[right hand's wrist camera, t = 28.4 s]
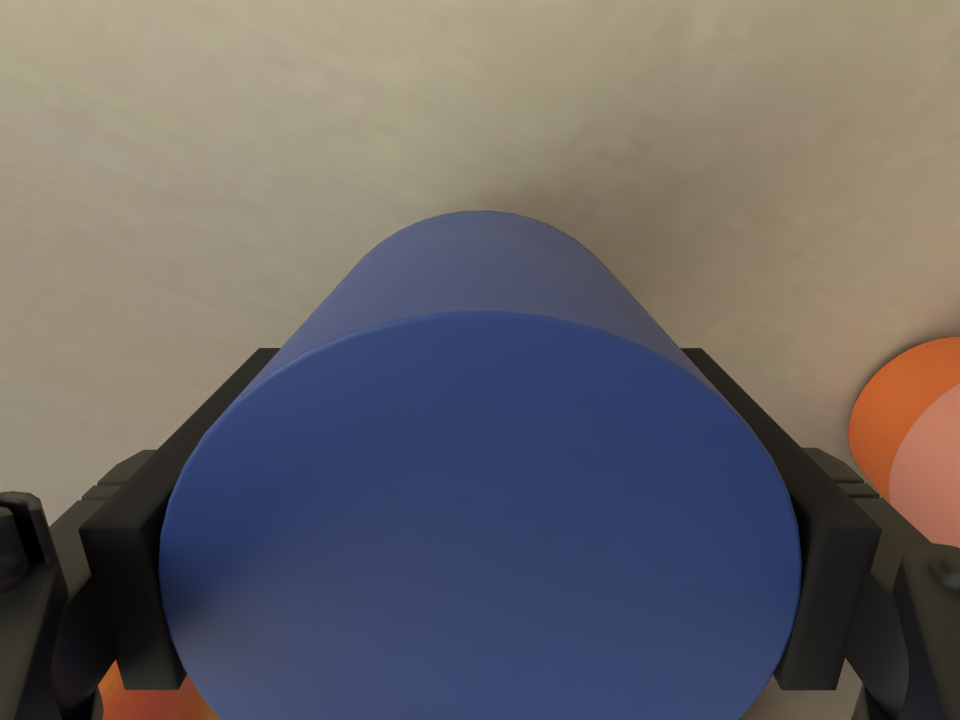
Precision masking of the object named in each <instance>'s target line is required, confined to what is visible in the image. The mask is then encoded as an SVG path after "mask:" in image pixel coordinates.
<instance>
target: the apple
mask: <svg viewBox="0 0 960 720" xmlns="http://www.w3.org/2000/svg"><path fill="white" fill-rule="evenodd" d="M98 687H99V690H100V693H101V696H102V701H103V707H104V713H103V720H221V719H220V718H219V717H218V715H217V714H216V713H215V712H214V711H213V709H212V708H211V707H210V706H209V705H208V703H207V702H206V701H205V700H204V698H203V697H202V696H201V695H200V693H199V692H198V690H197V688H196V687H195V685H194V684H193V682H192V680H191V679H190V677H189V676H188V674H187V675H186V677H185V679H184V681H183V683H182V685H181V687H180V688H179V690H125V689H124V685H123V682H122V679H121V675H120V672H119V668H118V665H117V661H116V660H115V661H114V663H113V664H112V666H111V667H110V669H109V670H108V671H107V673H106V674H105V676H104V677H103V679H102V680H101V682H100V683H99V685H98Z"/></svg>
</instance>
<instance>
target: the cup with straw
mask: <svg viewBox="0 0 960 720" xmlns="http://www.w3.org/2000/svg"><path fill="white" fill-rule="evenodd" d="M848 440H849V446H850V450H851V453H852V456H853V458H854V460H855V462H856V464H857V465H858V467H859V468H860V470H861V471H862V472H863V473H864V475H865V476H866V477H867V478H868V480H869V481H870V482H871V483H872V484H873V486H874V487H875V488H876V489H877V490H878V492H879V493H880V494H881V495H882V496H883V497H884V499H885V500H886V501H887V502H888V503H889V504H890V505H891V506H892V507H893V508H894V509H895V510H896V511H898V512H899V513H900V514H901V515H902V516H903V517H904V518H905V519H906V520H907V521H908V522H910V523H911V524H912V525H913V526H914V527H915V528H916V529H917V530H918V531H919V532H920V533H921V534H923V535H924V536H925V537H926V538H927V539H928V540H929V541H930V542H931V543H936V544H943V545H950V546H955V547H958V548H960V336H959V337H947V338H941V339H937V340H932V341H929V342H926V343H923V344H921V345H918V346H916V347H913V348H911V349H909V350H907V351H905V352H904V353H902V354H900V355H899V356H897V357H896V358H894V359H893V360H891V361H890V362H889V363H887V364H886V365H885V366H884V367H882V368H881V369H880V370H879V371H878V372H877V373H876V374H875V375H874V376H873V377H872V379H871V380H870V381H869V382H868V383H867V385H866V386H865V387H864V389H863V390H862V392H861V393H860V395H859V397H858V399H857V401H856V403H855V405H854V407H853V410H852V413H851V416H850V421H849V428H848Z"/></svg>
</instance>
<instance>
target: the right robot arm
mask: <svg viewBox="0 0 960 720" xmlns="http://www.w3.org/2000/svg"><path fill="white" fill-rule="evenodd" d="M280 349H281V348H259V349H258V350H257V351H256V352H255V353H254V354H253V355H252V356H251V357H250V358H249V359H248V360H247V361H246V362H245V363H244V364H243V365H242V366H241V367H240V368H239V369H238V370H237V371H236V372H235V373H234V374H233V375H232V376H231V377H230V378H229V379H228V380H227V381H226V382H225V383H224V384H223V385H222V386H221V387H220V388H219V389H218V390H217V391H216V392H215V393H214V394H213V395H212V396H211V397H210V398H209V399H208V400H207V401H206V402H205V403H204V404H203V405H202V406H201V407H200V408H199V409H198V410H197V411H196V412H195V413H194V414H193V415H192V416H191V417H190V418H189V419H188V420H187V421H186V422H185V423H184V424H183V425H182V426H181V427H180V428H179V429H178V430H177V431H176V432H175V433H174V434H173V435H172V436H171V437H170V438H169V439H168V440H167V441H166V442H165V443H164V444H163V445H162V446H161V447H160V448H159V449H158V450H143V451H141V452H139V453H137V454H135V455H133V456H132V457H130V458H128V459H126V460H124V461H122V462H121V463H119V464H117V465H116V466H115V467H113V468H112V469H111V470H110V471H109V472H108V473H107V474H106V475H105V476H104V477H103V478H102V479H101V480H99V481H98V485H97V486H93V487H92V488H91V489H90V490H89V491H88V492H87V493H85V494H84V495H83V496H82V500H81V501H77V502H76V503H75V504H74V505H72V506H71V507H70V508H69V509H68V510H67V511H66V512H65V513H64V514H63V515H62V516H61V517H60V518H58V519H57V520H56V521H55V522H54V523H53V524H52V525H51V526H50V527H49V526H48V523H47V520H46V517H45V514H44V510H43V507H42V504H41V501H40V499H39V498H37V497H36V496H34V495H32V494H31V493H24V492H13V491H12V492H3V493H0V720H103V713H104V707H103V701H102V696H101V693H100V690H99V687H98V685H99V683H100V682H101V680H102V679H103V677H104V676H105V674H106V673H107V671H108V670H109V669H110V667H111V666H112V664H113V663H114V661H115V660H116V661H117V665H118V668H119V672H120V675H121V679H122V682H123V685H124V689H125V690H179V688H180V687H181V685H182V683H183V681H184V679H185V677H186V675H187V672H186V671H185V669H184V668H183V665H182V663H181V661H180V659H179V656H178V654H177V652H176V649H175V647H174V645H173V643H172V640H171V638H170V635H169V631H168V628H167V624H166V620H165V616H164V613H163V609H162V605H161V595H160V585H159V576H158V566H159V551H160V537H161V531H162V527H163V523H164V519H165V515H166V511H167V507H168V503H169V499H170V497H171V494H172V492H173V490H174V487H175V485H176V483H177V480H178V478H179V476H180V474H181V471H182V469H183V467H184V465H185V463H186V462H187V460H188V459H189V457H190V455H191V454H192V452H193V451H194V449H195V448H196V446H197V445H198V443H199V441H200V440H201V438H202V437H203V435H204V434H205V432H206V431H207V430H208V429H209V428H210V427H211V426H212V425H213V423H214V422H215V421H216V420H217V419H218V418H219V417H220V416H221V415H222V413H223V412H224V411H225V410H226V409H227V408H228V407H229V406H230V405H231V403H232V402H233V401H234V400H235V399H236V398H237V397H238V396H239V395H240V393H241V392H242V391H243V390H244V389H245V388H246V387H247V386H248V385H249V383H250V382H251V381H252V380H253V379H254V378H255V377H256V376H257V375H258V373H259V372H260V371H261V370H262V369H263V368H264V367H265V366H266V365H267V363H268V362H269V361H270V360H271V359H272V358H273V357H274V356H275V355H276V353H277V352H278V351H279V350H280ZM680 349H681V350H682V351H683V352H684V353H685V355H686V356H687V357H688V358H689V359H690V360H691V361H692V362H693V363H694V365H695V366H696V367H697V368H698V369H699V370H700V371H701V372H702V373H703V374H704V376H705V377H706V378H707V379H708V380H709V381H710V382H711V383H712V384H713V386H714V387H715V388H716V389H717V390H718V391H719V392H720V393H721V394H722V395H723V397H724V398H725V399H726V400H727V401H728V402H729V403H730V404H731V405H732V407H733V408H734V409H735V410H736V411H737V412H738V413H739V414H740V415H741V416H742V418H743V419H744V420H745V421H746V422H747V423H748V424H749V426H750V427H751V429H752V430H753V431H754V433H755V434H756V436H757V437H758V438H759V440H760V441H761V443H762V444H763V445H764V447H765V448H766V450H767V451H768V452H769V454H770V455H771V457H772V459H773V461H774V463H775V465H776V467H777V469H778V471H779V473H780V475H781V477H782V479H783V481H784V483H785V485H786V488H787V490H788V492H789V496H790V499H791V503H792V506H793V510H794V513H795V516H796V520H797V523H798V529H799V538H800V547H801V555H802V577H801V595H800V600H799V605H798V609H797V614H796V618H795V623H794V628H793V630H792V633H791V636H790V638H789V641H788V643H787V646H786V648H785V651H784V653H783V656H782V659H781V660H780V662H779V664H778V666H777V667H776V669H775V671H774V673H773V675H774V677H775V678H776V680H777V682H778V684H779V686H780V688H781V690H836V687H837V684H838V680H839V677H840V673H841V670H842V666H843V663H844V660H845V657H846V659H847V660H848V662H849V663H850V665H851V666H852V668H853V669H854V670H855V672H856V673H857V675H858V676H859V678H860V679H861V681H862V682H863V683H862V687H861V690H860V693H859V696H858V699H857V703H856V706H855V709H854V712H853V715H852V719H851V720H960V548H958V547H955V546H950V545H943V544H936V543H931V542H930V541H929V540H928V539H927V538H926V537H925V536H924V535H923V534H921V533H920V532H919V531H918V530H917V529H916V528H915V527H914V526H913V525H912V524H911V523H910V522H908V521H907V520H906V519H905V518H904V517H903V516H902V515H901V514H900V513H899V512H898V511H896V510H895V509H894V508H893V507H892V506H891V505H890V504H889V503H888V502H887V501H886V500H885V499H883V498H879V494H878V493H877V492H876V491H875V490H874V489H873V488H871V487H870V486H869V485H868V484H864V482H863V479H862V478H861V477H860V476H858V475H857V474H856V473H855V472H854V471H853V470H852V469H851V468H850V467H849V466H848V465H846V464H845V463H844V462H842V461H840V460H839V459H837V458H835V457H833V456H831V455H829V454H827V453H826V452H824V451H822V450H820V449H818V448H801V447H800V446H799V445H798V444H797V443H796V442H795V441H794V440H793V439H792V438H791V437H790V436H789V435H788V434H787V433H786V432H785V431H784V430H783V429H782V428H781V427H780V426H779V425H778V424H777V423H776V422H775V421H774V420H773V419H772V418H771V417H770V416H769V415H768V414H767V413H766V412H765V411H764V410H763V409H762V408H761V407H760V406H759V405H758V404H757V403H756V402H755V401H754V400H753V399H752V398H751V397H750V396H749V395H748V394H747V393H746V392H745V391H744V390H743V389H742V388H741V387H740V386H739V385H738V384H737V383H736V382H735V381H734V380H733V379H732V378H731V377H730V376H729V375H728V374H727V373H726V372H725V371H724V370H723V369H722V368H721V367H720V366H719V365H718V364H717V363H716V362H715V361H714V360H713V359H712V358H711V357H710V356H709V355H708V354H707V353H706V352H705V351H704V350H703V349H702V348H680Z"/></svg>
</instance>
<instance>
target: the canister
mask: <svg viewBox="0 0 960 720" xmlns="http://www.w3.org/2000/svg"><path fill="white" fill-rule="evenodd" d="M158 576H159V585H160V595H161V605H162V609H163V613H164V616H165V620H166V624H167V628H168V631H169V635H170V638H171V640H172V643H173V645H174V647H175V649H176V652H177V654H178V656H179V659H180V661H181V663H182V665H183V668H184V669H185V671H186V672H187V674H188V676H189V677H190V679H191V680H192V682H193V684H194V685H195V687H196V688H197V690H198V692H199V693H200V695H201V696H202V697H203V698H204V700H205V701H206V702H207V703H208V705H209V706H210V707H211V708H212V709H213V711H214V712H215V713H216V714H217V715H218V717H219V718H220V719H221V720H739V719H740V718H741V717H742V716H743V715H744V714H745V713H746V712H747V710H748V709H749V708H750V706H751V705H752V704H753V703H754V701H755V700H756V699H757V697H758V696H759V695H760V693H761V692H762V691H763V690H764V688H765V687H766V685H767V683H768V681H769V680H770V678H771V676H772V674H773V673H774V671H775V669H776V667H777V666H778V664H779V662H780V660H781V659H782V656H783V653H784V651H785V648H786V646H787V643H788V641H789V638H790V636H791V633H792V630H793V628H794V623H795V618H796V614H797V609H798V605H799V600H800V595H801V577H802V555H801V547H800V538H799V529H798V523H797V520H796V516H795V513H794V510H793V506H792V503H791V499H790V496H789V492H788V490H787V488H786V485H785V483H784V481H783V479H782V477H781V475H780V473H779V471H778V469H777V467H776V465H775V463H774V461H773V459H772V457H771V455H770V454H769V452H768V451H767V450H766V448H765V447H764V445H763V444H762V443H761V441H760V440H759V438H758V437H757V436H756V434H755V433H754V431H753V430H752V429H751V427H750V426H749V424H748V423H747V422H746V421H745V420H744V419H743V418H742V416H741V415H740V414H739V413H738V412H737V411H736V410H735V409H734V408H733V407H732V405H731V404H730V403H729V402H728V401H727V400H726V399H725V398H724V397H723V395H722V394H721V393H720V392H719V391H718V390H717V389H716V388H715V387H714V386H713V384H712V383H711V382H710V381H709V380H708V379H707V378H706V377H705V376H704V374H703V373H702V372H701V371H700V370H699V369H698V368H697V367H696V366H695V365H694V363H693V362H692V361H691V360H690V359H689V358H688V357H687V356H686V355H685V353H684V352H683V351H682V350H681V349H680V348H679V347H678V346H677V345H676V344H675V342H674V341H673V340H672V339H671V338H670V337H669V336H668V335H667V334H666V332H665V331H664V330H663V329H662V328H661V327H660V326H659V325H658V324H657V323H656V321H655V320H654V319H653V318H652V317H651V316H650V315H649V314H648V313H647V311H646V310H645V309H644V308H643V307H642V306H641V305H640V304H639V303H638V302H637V300H636V299H635V298H634V297H633V296H632V295H631V294H630V293H629V292H628V290H627V289H626V288H625V287H624V286H623V285H622V284H621V283H620V282H619V281H618V279H617V278H616V277H615V276H614V275H613V274H612V273H611V272H610V271H609V269H608V268H607V267H606V266H605V265H604V264H603V263H602V262H601V261H600V260H599V259H598V258H597V257H596V256H595V255H594V254H593V253H592V252H591V251H590V250H588V249H587V248H586V247H584V246H583V245H582V244H581V243H579V242H578V241H577V240H575V239H574V238H572V237H571V236H569V235H567V234H565V233H564V232H562V231H560V230H558V229H557V228H555V227H552V226H550V225H547V224H545V223H542V222H540V221H537V220H535V219H532V218H528V217H524V216H520V215H516V214H512V213H504V212H496V211H463V212H456V213H450V214H443V215H440V216H436V217H433V218H429V219H426V220H423V221H420V222H417V223H415V224H413V225H411V226H409V227H406V228H404V229H402V230H400V231H398V232H396V233H395V234H393V235H392V236H390V237H389V238H387V239H385V240H384V241H382V242H381V243H379V244H378V245H377V246H376V247H375V248H373V249H372V250H371V251H370V252H369V253H367V254H366V255H365V256H364V257H363V258H362V259H361V260H360V261H359V263H358V264H357V265H356V266H355V267H354V268H353V269H352V270H351V271H350V273H349V274H348V275H347V276H346V277H345V278H344V279H343V280H342V281H341V282H340V284H339V285H338V286H337V287H336V288H335V289H334V290H333V291H332V292H331V294H330V295H329V296H328V297H327V298H326V299H325V300H324V301H323V302H322V304H321V305H320V306H319V307H318V308H317V309H316V310H315V311H314V312H313V314H312V315H311V316H310V317H309V318H308V319H307V320H306V321H305V322H304V324H303V325H302V326H301V327H300V328H299V329H298V330H297V331H296V332H295V334H294V335H293V336H292V337H291V338H290V339H289V340H288V341H287V342H286V344H285V345H284V346H283V347H282V348H281V349H280V350H279V351H278V352H277V353H276V355H275V356H274V357H273V358H272V359H271V360H270V361H269V362H268V363H267V365H266V366H265V367H264V368H263V369H262V370H261V371H260V372H259V373H258V375H257V376H256V377H255V378H254V379H253V380H252V381H251V382H250V383H249V385H248V386H247V387H246V388H245V389H244V390H243V391H242V392H241V393H240V395H239V396H238V397H237V398H236V399H235V400H234V401H233V402H232V403H231V405H230V406H229V407H228V408H227V409H226V410H225V411H224V412H223V413H222V415H221V416H220V417H219V418H218V419H217V420H216V421H215V422H214V423H213V425H212V426H211V427H210V428H209V429H208V430H207V431H206V432H205V434H204V435H203V437H202V438H201V440H200V441H199V443H198V445H197V446H196V448H195V449H194V451H193V452H192V454H191V455H190V457H189V459H188V460H187V462H186V463H185V465H184V467H183V469H182V471H181V474H180V476H179V478H178V480H177V483H176V485H175V487H174V490H173V492H172V494H171V497H170V499H169V503H168V507H167V511H166V515H165V519H164V523H163V527H162V531H161V537H160V551H159V566H158Z"/></svg>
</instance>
